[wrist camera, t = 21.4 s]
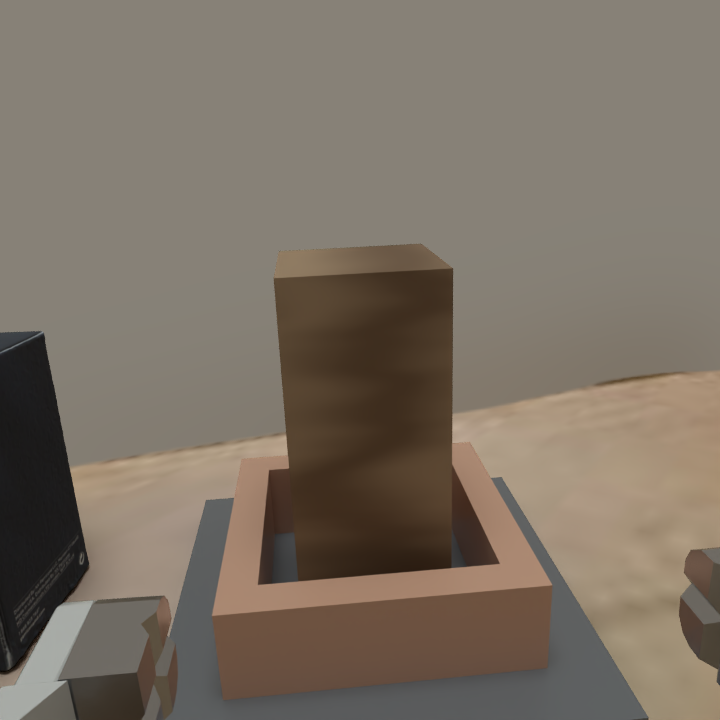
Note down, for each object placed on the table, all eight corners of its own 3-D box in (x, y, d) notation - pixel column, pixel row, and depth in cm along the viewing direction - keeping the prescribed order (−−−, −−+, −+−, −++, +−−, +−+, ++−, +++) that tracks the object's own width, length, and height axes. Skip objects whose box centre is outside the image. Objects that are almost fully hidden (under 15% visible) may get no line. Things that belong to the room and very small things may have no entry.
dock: (138, 800, 17) (115, 680, 16) (208, 519, 31) (198, 441, 29) (644, 745, 18) (659, 628, 17) (500, 495, 32) (503, 419, 30)
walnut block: (302, 636, 22) (273, 278, 18) (301, 548, 26) (278, 251, 23) (451, 621, 22) (453, 268, 18) (424, 538, 27) (421, 243, 23)
